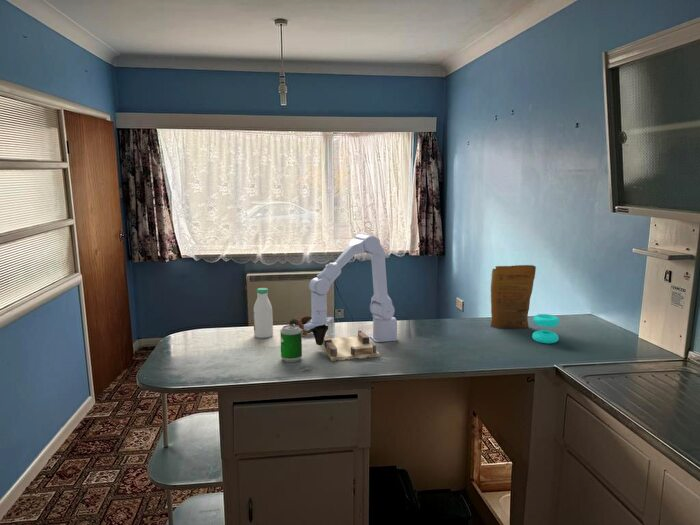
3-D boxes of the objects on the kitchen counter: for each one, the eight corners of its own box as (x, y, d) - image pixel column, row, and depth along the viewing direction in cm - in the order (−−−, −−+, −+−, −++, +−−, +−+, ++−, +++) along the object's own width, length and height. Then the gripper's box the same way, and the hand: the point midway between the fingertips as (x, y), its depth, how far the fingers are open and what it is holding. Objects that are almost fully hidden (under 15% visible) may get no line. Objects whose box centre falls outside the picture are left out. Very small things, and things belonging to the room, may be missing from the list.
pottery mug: (315, 329, 216) (319, 316, 211) (312, 345, 208) (317, 331, 203) (288, 323, 215) (292, 309, 210) (285, 338, 207) (288, 324, 202)
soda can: (305, 357, 180) (304, 325, 178) (296, 364, 173) (296, 331, 171) (286, 354, 183) (286, 323, 181) (277, 361, 176) (276, 329, 174)
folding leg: (320, 341, 194) (320, 334, 194) (327, 340, 195) (327, 334, 195) (325, 347, 187) (324, 340, 187) (331, 346, 188) (331, 339, 187)
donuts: (554, 321, 191) (529, 316, 197) (553, 346, 193) (527, 340, 199) (563, 316, 198) (538, 312, 205) (562, 340, 200) (537, 335, 206)
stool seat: (362, 338, 202) (362, 329, 201) (379, 356, 181) (379, 346, 180) (319, 342, 197) (318, 333, 196) (331, 361, 176) (331, 350, 176)
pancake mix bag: (534, 330, 214) (538, 266, 209) (489, 329, 215) (492, 265, 211) (530, 325, 220) (533, 263, 216) (486, 324, 222) (489, 263, 217)
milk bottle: (276, 334, 207) (275, 288, 204) (264, 339, 200) (262, 291, 197) (263, 332, 211) (261, 286, 208) (250, 336, 204) (248, 289, 201)
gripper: (324, 304, 193) (324, 338, 195) (297, 311, 182) (298, 347, 184) (338, 307, 189) (338, 341, 191) (311, 314, 178) (311, 351, 180)
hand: (319, 344), depth 187 cm, fingers closed
